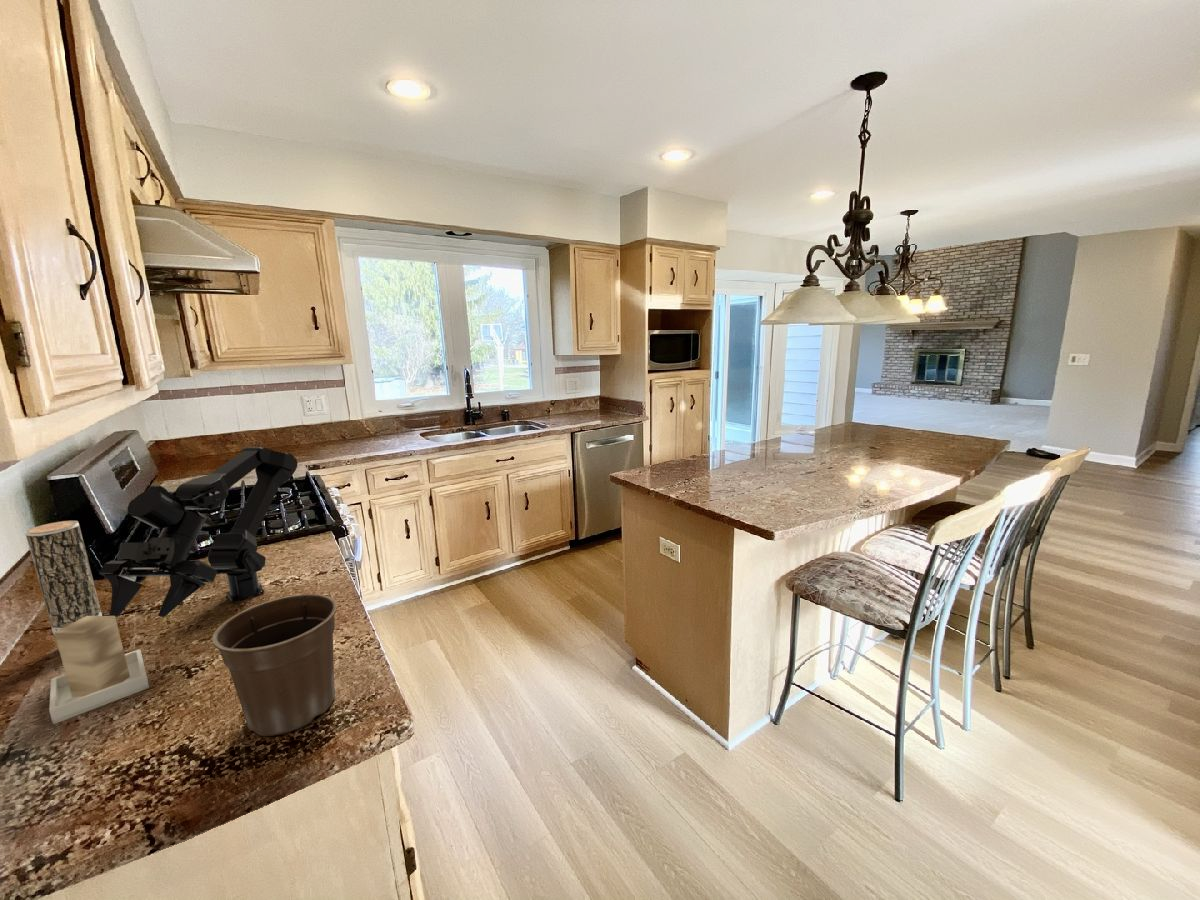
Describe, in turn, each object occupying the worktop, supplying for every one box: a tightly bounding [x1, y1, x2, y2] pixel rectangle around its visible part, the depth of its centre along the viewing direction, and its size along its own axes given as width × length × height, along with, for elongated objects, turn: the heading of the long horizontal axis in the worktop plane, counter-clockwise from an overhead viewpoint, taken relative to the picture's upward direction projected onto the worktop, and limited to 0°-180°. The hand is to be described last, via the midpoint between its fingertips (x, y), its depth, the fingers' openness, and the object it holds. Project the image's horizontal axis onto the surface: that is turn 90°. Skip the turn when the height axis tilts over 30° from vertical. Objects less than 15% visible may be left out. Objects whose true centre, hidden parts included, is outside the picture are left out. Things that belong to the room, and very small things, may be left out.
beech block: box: [54, 615, 130, 697], centre depth 82 cm, size 5×5×12 cm
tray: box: [48, 648, 150, 725], centre depth 83 cm, size 11×11×2 cm
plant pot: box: [211, 593, 338, 737], centre depth 77 cm, size 16×16×16 cm
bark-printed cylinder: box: [25, 520, 103, 652], centre depth 94 cm, size 7×7×25 cm
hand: (137, 616), depth 89 cm, fingers open, 9 cm apart
